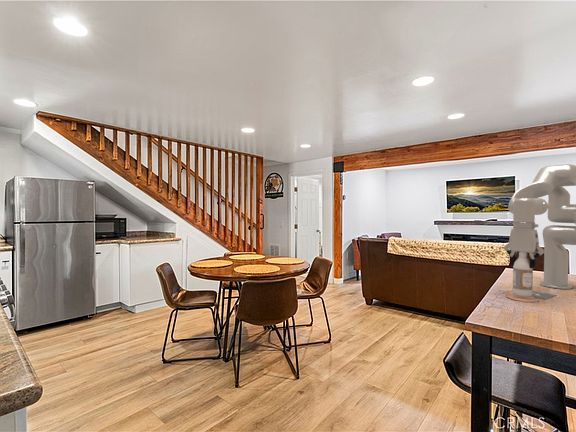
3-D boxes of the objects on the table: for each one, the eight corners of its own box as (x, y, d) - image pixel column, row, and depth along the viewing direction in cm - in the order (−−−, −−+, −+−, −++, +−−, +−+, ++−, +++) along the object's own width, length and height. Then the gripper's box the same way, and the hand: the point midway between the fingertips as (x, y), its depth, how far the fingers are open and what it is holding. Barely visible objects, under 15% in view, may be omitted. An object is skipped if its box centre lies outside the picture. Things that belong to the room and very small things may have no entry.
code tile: (525, 289, 153) (525, 289, 153) (556, 295, 143) (556, 295, 143) (514, 293, 147) (514, 292, 147) (545, 299, 137) (545, 299, 137)
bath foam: (519, 296, 135) (519, 250, 134) (509, 291, 142) (509, 248, 141) (536, 296, 134) (537, 250, 134) (525, 292, 141) (526, 248, 141)
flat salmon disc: (513, 294, 146) (513, 292, 146) (542, 300, 136) (542, 298, 136) (502, 297, 140) (502, 296, 140) (531, 303, 130) (531, 302, 130)
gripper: (551, 227, 132) (550, 269, 133) (505, 225, 147) (505, 263, 147) (544, 227, 128) (543, 271, 129) (498, 225, 143) (497, 264, 143)
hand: (522, 266), depth 138 cm, fingers closed on bath foam, 6 cm apart
